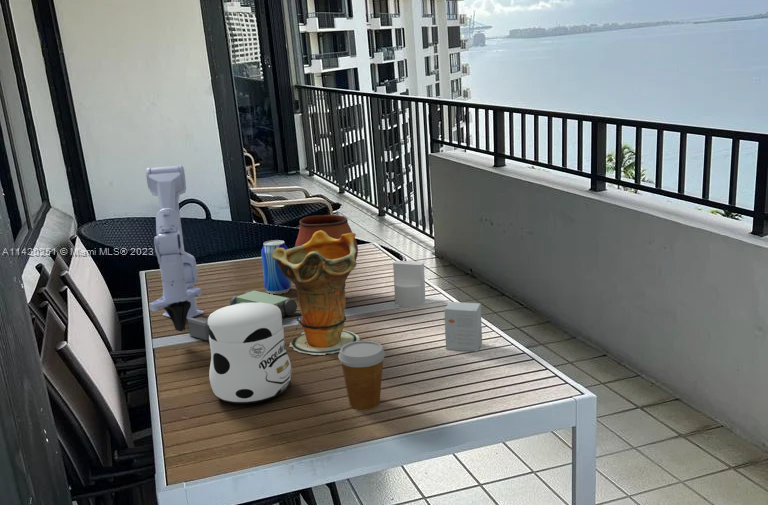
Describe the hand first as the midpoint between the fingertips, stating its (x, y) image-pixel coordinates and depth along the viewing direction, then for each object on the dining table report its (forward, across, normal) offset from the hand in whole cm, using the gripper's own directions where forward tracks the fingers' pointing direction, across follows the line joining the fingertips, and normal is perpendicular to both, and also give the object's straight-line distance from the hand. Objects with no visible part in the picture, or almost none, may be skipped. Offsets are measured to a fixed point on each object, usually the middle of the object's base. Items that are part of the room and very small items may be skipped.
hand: (180, 329), depth 177 cm
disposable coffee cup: (+5, 0, -61) cm, 61 cm away
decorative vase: (+4, +21, -31) cm, 38 cm away
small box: (+5, +36, -63) cm, 73 cm away
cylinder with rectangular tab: (+4, +57, -32) cm, 66 cm away
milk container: (+5, -9, -37) cm, 38 cm away
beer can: (+4, +45, +11) cm, 47 cm away
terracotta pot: (+4, +47, -9) cm, 48 cm away
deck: (+4, +27, 0) cm, 27 cm away
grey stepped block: (+4, +9, 0) cm, 10 cm away
